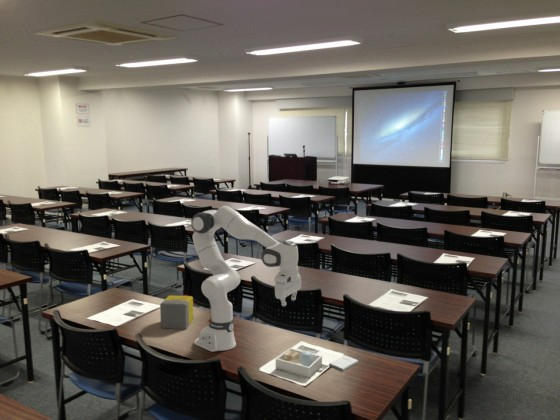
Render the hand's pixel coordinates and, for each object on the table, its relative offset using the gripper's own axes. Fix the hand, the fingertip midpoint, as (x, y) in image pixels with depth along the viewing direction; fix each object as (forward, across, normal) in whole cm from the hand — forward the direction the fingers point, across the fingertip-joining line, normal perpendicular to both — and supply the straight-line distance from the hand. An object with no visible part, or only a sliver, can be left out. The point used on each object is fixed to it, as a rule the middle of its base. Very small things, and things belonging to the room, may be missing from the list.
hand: (288, 302), depth 223 cm
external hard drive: (+30, -10, +25) cm, 40 cm away
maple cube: (+28, +4, +4) cm, 29 cm away
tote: (+29, +4, +8) cm, 31 cm away
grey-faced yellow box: (+29, -11, -80) cm, 86 cm away
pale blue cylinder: (+28, +4, +12) cm, 31 cm away
